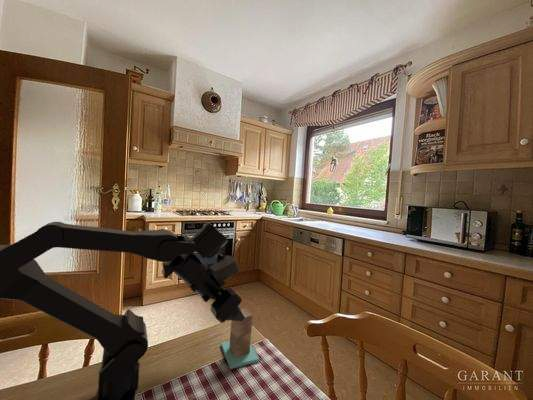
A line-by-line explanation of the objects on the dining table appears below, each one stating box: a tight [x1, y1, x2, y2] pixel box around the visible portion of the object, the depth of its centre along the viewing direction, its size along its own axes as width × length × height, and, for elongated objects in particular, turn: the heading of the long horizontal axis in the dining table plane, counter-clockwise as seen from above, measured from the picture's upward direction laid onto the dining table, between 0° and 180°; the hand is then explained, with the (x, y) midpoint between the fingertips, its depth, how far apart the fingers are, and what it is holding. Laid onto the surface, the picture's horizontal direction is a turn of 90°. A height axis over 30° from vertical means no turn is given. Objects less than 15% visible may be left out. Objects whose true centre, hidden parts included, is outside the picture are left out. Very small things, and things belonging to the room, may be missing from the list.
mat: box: [220, 340, 260, 370], centre depth 62 cm, size 8×9×1 cm
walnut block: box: [229, 307, 254, 357], centre depth 61 cm, size 4×4×10 cm
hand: (235, 310), depth 60 cm, fingers open, 9 cm apart
